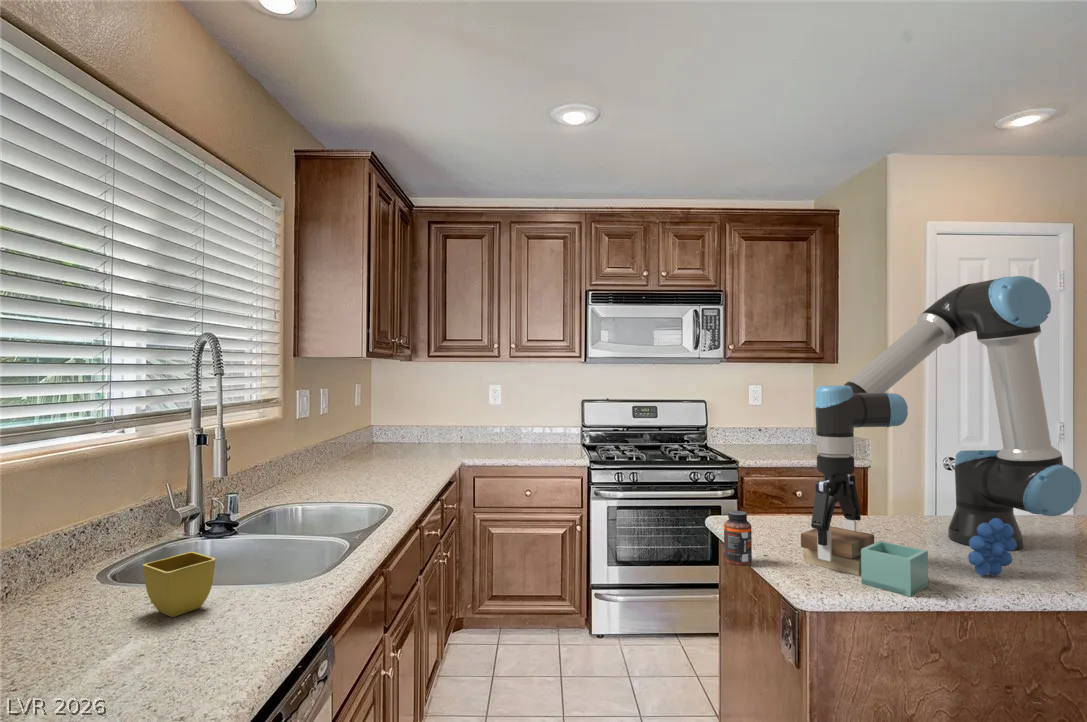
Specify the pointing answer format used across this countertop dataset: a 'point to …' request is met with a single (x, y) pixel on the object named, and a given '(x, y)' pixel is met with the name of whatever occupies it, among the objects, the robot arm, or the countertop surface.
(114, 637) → the countertop surface
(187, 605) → the flower pot
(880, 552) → the teal open box
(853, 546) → the lid
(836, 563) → the wooden block
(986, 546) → the grapes
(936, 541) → the countertop surface
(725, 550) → the supplement bottle
